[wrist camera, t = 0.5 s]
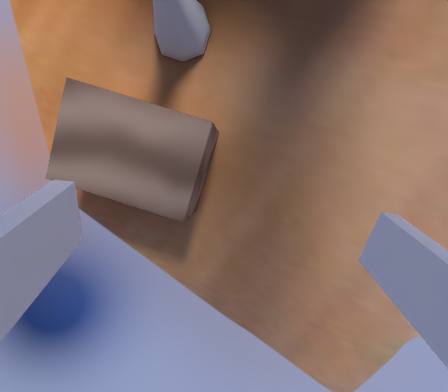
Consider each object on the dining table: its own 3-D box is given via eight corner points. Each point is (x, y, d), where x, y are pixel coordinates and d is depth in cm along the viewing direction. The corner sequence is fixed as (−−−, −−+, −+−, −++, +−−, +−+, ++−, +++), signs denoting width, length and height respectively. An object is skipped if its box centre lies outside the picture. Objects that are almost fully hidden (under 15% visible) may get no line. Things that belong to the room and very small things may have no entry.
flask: (155, 63, 31) (116, 14, 21) (154, 2, 30) (111, -78, 20) (211, 61, 31) (197, 11, 21) (211, 0, 30) (196, -84, 20)
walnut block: (104, 97, 32) (66, 77, 25) (218, 132, 32) (212, 122, 25) (86, 176, 33) (45, 178, 27) (195, 211, 33) (183, 222, 26)
